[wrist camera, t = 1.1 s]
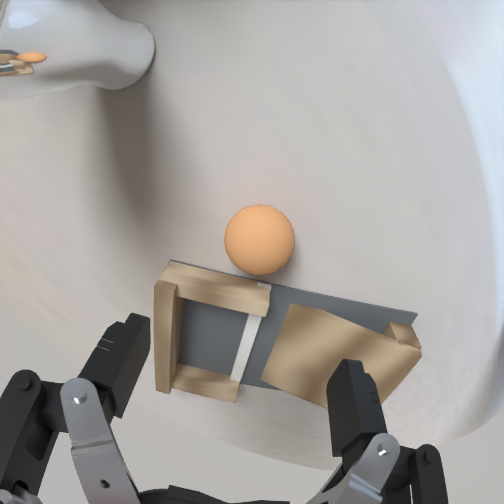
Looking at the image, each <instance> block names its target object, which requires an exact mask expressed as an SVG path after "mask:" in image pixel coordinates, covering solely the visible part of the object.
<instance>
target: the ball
mask: <svg viewBox="0 0 504 504" xmlns="http://www.w3.org/2000/svg"><path fill="white" fill-rule="evenodd" d="M224 243H225V249H226V252H227V254H228V256H229V258H230V260H231V261H232V262H233V263H234V265H236V266H237V267H238V268H239V269H241V270H242V271H244V272H246V273H249V274H254V275H266V274H270V273H273V272H275V271H277V270H278V269H280V268H281V267H283V266H284V265H285V264H286V262H287V261H288V260H289V258H290V257H291V255H292V252H293V249H294V243H295V236H294V231H293V228H292V225H291V223H290V221H289V220H288V219H287V217H286V216H285V215H284V214H283V213H282V212H280V211H279V210H277V209H275V208H273V207H270V206H267V205H252V206H248V207H246V208H244V209H242V210H240V211H239V212H237V213H236V214H235V215H234V216H233V217H232V219H231V220H230V222H229V223H228V225H227V228H226V231H225V237H224Z"/></svg>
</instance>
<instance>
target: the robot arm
mask: <svg viewBox="0 0 504 504" xmlns="http://www.w3.org/2000/svg"><path fill="white" fill-rule="evenodd" d="M149 350H150V318H149V317H145V316H142V315H139V314H135V313H131V314H130V315H129V317H128V318H127V320H126V322H125V323H121V322H118V321H117V322H115V323H114V324H113V325H111V326H110V327H108V328H107V330H106V331H105V333H104V334H103V336H102V339H100V341H99V342H98V344H97V347H95V349H94V351H93V352H92V354H91V356H90V357H89V359H88V361H87V362H86V364H85V366H84V368H83V369H82V371H81V373H80V374H79V376H78V377H77V378H73V379H70V380H68V381H67V382H66V383H54V382H47V381H41V380H40V378H39V376H38V375H37V374H36V373H35V372H33V371H31V370H21V371H18V372H16V373H15V374H14V375H13V376H12V378H11V380H10V381H9V383H8V385H7V387H6V389H5V390H4V392H3V394H2V396H1V398H0V504H43V503H42V502H41V500H40V499H39V498H38V497H37V495H38V492H39V488H40V485H41V482H42V478H43V476H44V472H45V470H46V467H47V464H48V461H49V458H50V455H51V452H52V450H53V447H54V444H55V442H56V439H57V437H58V434H59V432H66V433H69V436H70V439H71V443H72V448H71V455H72V459H73V462H74V465H75V468H76V471H77V474H78V477H79V479H80V482H81V485H82V488H83V490H84V493H85V495H86V498H87V500H88V503H89V504H290V502H287V501H267V500H266V501H265V500H259V501H251V502H242V503H226V502H223V501H221V500H219V499H216V498H213V497H211V496H208V495H206V494H204V493H201V492H199V491H193V490H189V489H184V488H180V487H176V486H172V485H169V488H168V489H153V490H147V491H144V492H140V493H139V491H138V489H137V487H136V485H135V483H134V481H133V479H132V476H131V474H130V472H129V470H128V468H127V466H126V464H125V462H124V459H123V457H122V455H121V452H120V450H119V447H118V445H117V443H116V440H115V437H114V435H113V432H112V429H111V426H110V423H111V421H112V419H113V416H116V417H118V418H122V416H123V413H124V411H125V408H126V406H127V404H128V401H129V399H130V396H131V394H132V391H133V389H134V387H135V384H136V382H137V380H138V377H139V375H140V373H141V370H142V368H143V366H144V363H145V361H146V359H147V356H148V354H149ZM326 395H327V403H328V413H329V422H330V432H331V443H332V454H333V457H342V462H341V463H340V465H339V466H338V467H337V469H336V470H335V471H334V473H333V474H332V475H331V477H330V478H329V479H328V481H327V482H326V483H325V484H324V486H323V487H322V488H321V490H320V491H319V492H318V493H317V494H316V495H315V496H314V497H313V498H312V499H311V500H309V501H308V502H307V503H306V504H411V493H410V485H411V488H412V498H413V504H448V497H447V490H446V484H445V478H444V473H443V467H442V463H441V457H440V454H439V452H438V450H437V449H436V448H435V447H434V446H432V445H430V444H424V445H422V446H420V447H419V448H418V449H412V448H408V447H404V446H400V445H399V443H398V441H397V440H396V438H394V437H393V436H392V435H390V434H388V432H387V428H386V424H385V419H384V415H383V411H382V407H381V403H380V399H379V395H378V391H377V387H376V383H375V381H374V380H373V378H372V377H371V375H370V374H369V373H365V371H364V367H363V364H362V362H361V361H360V360H352V359H343V360H342V361H341V362H340V364H339V365H338V367H337V368H336V370H335V371H334V373H333V374H332V376H331V377H330V379H329V381H328V383H327V388H326Z"/></svg>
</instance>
